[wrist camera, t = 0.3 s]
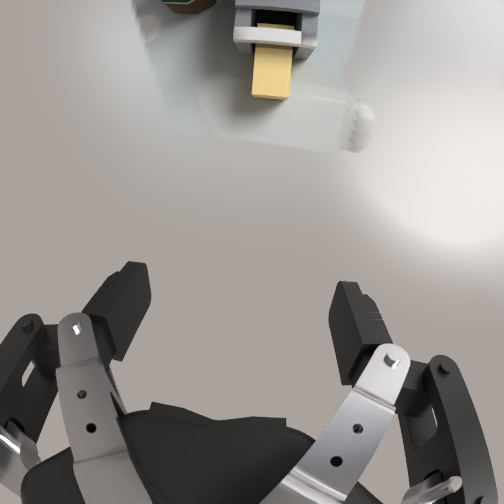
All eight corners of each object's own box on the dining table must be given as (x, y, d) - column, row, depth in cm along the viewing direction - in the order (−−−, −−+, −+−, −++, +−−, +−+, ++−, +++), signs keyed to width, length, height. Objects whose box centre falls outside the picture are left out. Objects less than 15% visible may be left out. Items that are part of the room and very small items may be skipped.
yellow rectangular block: (258, 33, 26) (257, 22, 22) (291, 36, 26) (294, 26, 22) (253, 97, 30) (251, 94, 26) (285, 100, 30) (288, 97, 26)
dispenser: (246, -18, 22) (241, -46, 15) (310, -13, 22) (320, -39, 15) (239, 53, 28) (231, 36, 20) (306, 59, 27) (318, 44, 20)
